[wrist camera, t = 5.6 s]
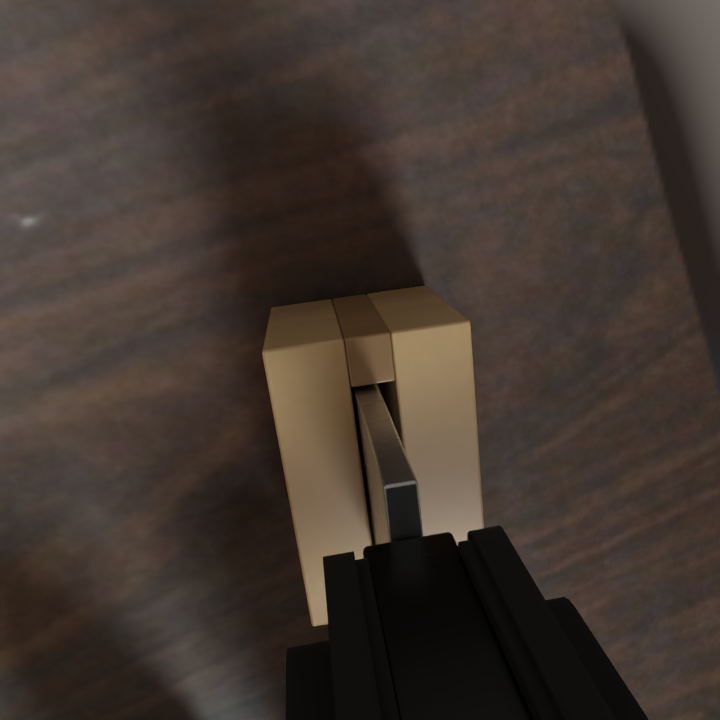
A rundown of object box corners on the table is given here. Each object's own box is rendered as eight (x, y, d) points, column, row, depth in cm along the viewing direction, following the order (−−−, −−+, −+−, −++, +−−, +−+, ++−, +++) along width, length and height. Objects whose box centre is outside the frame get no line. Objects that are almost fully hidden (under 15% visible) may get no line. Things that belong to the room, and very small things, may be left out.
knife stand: (270, 306, 18) (261, 350, 13) (426, 284, 18) (471, 319, 14) (308, 525, 21) (311, 628, 16) (445, 502, 21) (489, 596, 16)
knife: (330, 374, 15) (442, 944, 4) (389, 365, 15) (663, 896, 4) (351, 519, 17) (479, 1245, 5) (406, 510, 17) (643, 1203, 5)
